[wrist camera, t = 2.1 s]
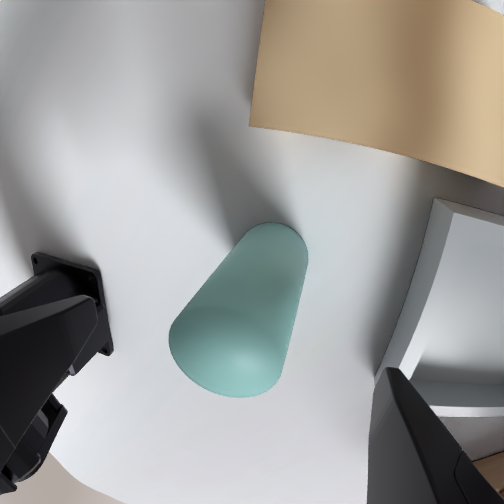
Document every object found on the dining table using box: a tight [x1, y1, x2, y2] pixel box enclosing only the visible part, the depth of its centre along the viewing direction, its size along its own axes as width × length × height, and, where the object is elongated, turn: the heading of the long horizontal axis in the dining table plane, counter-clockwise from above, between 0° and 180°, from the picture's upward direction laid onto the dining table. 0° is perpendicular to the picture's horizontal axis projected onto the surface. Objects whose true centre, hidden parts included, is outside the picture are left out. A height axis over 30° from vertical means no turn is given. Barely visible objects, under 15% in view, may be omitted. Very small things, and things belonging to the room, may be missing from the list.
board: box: [249, 0, 504, 188], centre depth 9 cm, size 10×7×2 cm
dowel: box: [169, 222, 308, 398], centre depth 11 cm, size 3×3×7 cm
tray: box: [374, 197, 504, 417], centre depth 12 cm, size 10×10×2 cm
